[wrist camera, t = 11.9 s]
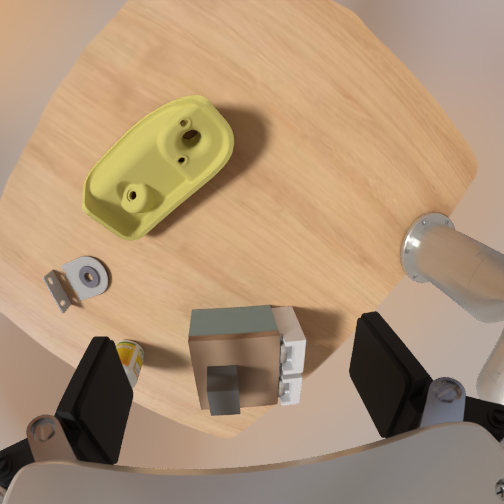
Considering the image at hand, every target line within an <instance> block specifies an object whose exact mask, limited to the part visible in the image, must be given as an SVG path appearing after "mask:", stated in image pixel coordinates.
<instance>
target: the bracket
mask: <svg viewBox="0 0 504 504" xmlns="http://www.w3.org/2000/svg"><path fill="white" fill-rule="evenodd" d="M61 267H62V269H63V270H64V271H65V272H66V277H67V279H68V280H69V282H70V284H71V286H72V288H73V289H74V290H75V291H76V292H77V293H78V295H79V297H78V298H79V300H80V301H81V300H84V299H87V298H90V297H93V296H96V295H99V294H101V293H103V292H104V291H105V289H106V288H107V286H108V275H107V272H106V270H105V268H104V266H103V265H102V264H101V263H100V262H99V261H98V260H96V259H95V258H93V257H90V256H82V257H79V258H77V259H75V260H73V261H70V262H68V263H66V264H64V265H62V266H61ZM86 273H90V274H91V275H92V277H93V280H89V279H87V277H86ZM48 277H49V278H50V280H51V281H52V285H51V284H50V283H49V281H48ZM43 280H44V282H45V284H46V285H47V287H48V289H49V291H50V293H51V295H52V296H53V298H54V300H55V302H56V303H57V305H58V307H59V309H60V310H61V312H62V313H64V312H65V311H66V310H67V309H68V308H69V306H70V305H71V302H70V300H69V298H68V296H67V295H66V293H65V291H64V289H63V287H62V285H61V284H60V282H59V280H58V278H57V276H56V274H55V273H54V271H53V270H51V271H50V272H49V273H48V274H47V275H46V276H44V277H43ZM62 300H63V301H64V305H63V306H61V304H60V302H61V301H62Z"/></svg>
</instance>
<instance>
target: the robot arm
mask: <svg viewBox="0 0 504 504" xmlns="http://www.w3.org/2000/svg"><path fill="white" fill-rule="evenodd" d="M400 258H401V265H402V267H403V270H404V272H405V273H406V275H407V276H408V277H410V278H411V279H412V280H414V281H416V282H420V283H424V282H429V281H430V282H431V283H432V284H433V285H435V286H436V287H437V288H439V289H440V290H441V291H443V292H444V293H445V294H446V295H447V296H449V297H450V298H451V299H452V300H454V301H455V302H456V303H458V304H459V305H460V306H461V307H462V308H463V309H465V310H466V311H467V312H468V313H470V314H471V315H472V316H473V317H474V318H476V319H477V320H479V321H482V322H485V323H493V322H499V321H503V320H504V255H503V254H502V253H500V252H498V251H496V250H494V249H492V248H490V247H488V246H486V245H484V244H482V243H480V242H478V241H476V240H474V239H473V238H471V237H468V236H466V235H464V234H462V233H460V232H458V231H456V230H455V228H454V226H453V223H452V222H451V220H450V219H449V218H448V217H447V216H445V215H443V214H441V213H437V212H430V213H426V214H424V215H422V216H420V217H419V218H418V219H416V220H415V221H414V223H413V224H412V225H411V226H410V228H409V229H408V231H407V233H406V235H405V237H404V239H403V242H402V247H401V257H400ZM349 373H350V377H351V379H352V381H353V383H354V385H355V387H356V389H357V391H358V393H359V395H360V397H361V399H362V400H363V403H364V404H365V406H366V408H367V410H368V412H369V414H370V416H371V418H372V420H373V422H374V424H375V426H376V428H377V430H378V432H379V434H380V436H381V437H382V438H384V437H385V438H386V439H383V440H380V441H376V442H374V443H370V444H366V445H362V446H359V447H355V448H351V449H347V450H343V451H339V452H335V453H331V454H326V455H322V456H317V457H311V458H307V459H301V460H296V461H289V462H283V463H276V464H268V465H259V466H250V467H238V468H222V469H155V468H140V467H128V466H117V465H114V464H116V463H117V461H118V458H119V454H120V449H121V445H122V440H123V436H124V432H125V427H126V423H127V419H128V415H129V411H130V407H131V404H132V400H133V390H132V387H131V385H130V382H129V380H128V377H127V375H126V372H125V370H124V367H123V365H122V362H121V359H120V357H119V354H118V351H117V349H116V346H115V343H114V341H113V340H110V339H109V337H93V339H92V340H91V342H90V344H89V346H88V348H87V350H86V352H85V353H84V355H83V357H82V359H81V361H80V363H79V365H78V367H77V369H76V371H75V373H74V375H73V377H72V379H71V381H70V383H69V385H68V387H67V389H66V391H65V393H64V395H63V397H62V399H61V401H60V403H59V406H58V408H57V410H56V413H55V415H54V416H52V415H48V414H47V415H40V416H37V417H36V418H34V419H33V420H32V421H31V422H30V423H29V425H28V426H27V431H26V434H27V438H26V439H24V440H22V441H20V442H18V443H16V444H14V445H12V446H9V447H7V448H5V449H3V450H1V451H0V504H504V329H503V331H502V334H501V336H500V338H499V340H498V341H497V343H496V345H495V347H494V349H493V350H492V352H491V354H490V356H489V358H488V359H487V361H486V363H485V364H484V366H483V368H482V370H481V372H480V373H479V376H478V378H477V383H476V389H477V393H478V396H479V398H480V399H476V398H472V397H468V396H466V393H465V389H464V387H463V385H462V384H461V383H460V382H459V381H457V380H455V379H452V378H449V377H441V378H438V379H436V380H434V381H433V380H432V378H431V377H430V375H429V374H428V373H427V372H426V370H425V369H424V368H423V367H422V365H421V364H420V363H419V362H418V360H417V359H416V358H415V357H414V355H413V354H412V353H411V352H410V350H409V349H408V348H407V347H406V345H405V344H404V343H403V342H402V340H401V339H400V338H399V337H398V336H397V334H396V333H395V332H394V331H393V330H392V328H391V327H390V326H389V325H388V324H387V323H386V321H385V320H384V319H383V318H382V317H381V315H380V314H379V313H378V312H376V311H375V312H369V313H363V314H362V316H361V318H358V320H357V326H356V332H355V339H354V346H353V351H352V357H351V362H350V368H349Z"/></svg>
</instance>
